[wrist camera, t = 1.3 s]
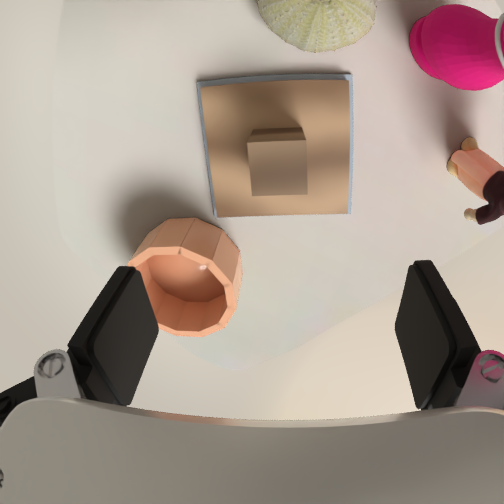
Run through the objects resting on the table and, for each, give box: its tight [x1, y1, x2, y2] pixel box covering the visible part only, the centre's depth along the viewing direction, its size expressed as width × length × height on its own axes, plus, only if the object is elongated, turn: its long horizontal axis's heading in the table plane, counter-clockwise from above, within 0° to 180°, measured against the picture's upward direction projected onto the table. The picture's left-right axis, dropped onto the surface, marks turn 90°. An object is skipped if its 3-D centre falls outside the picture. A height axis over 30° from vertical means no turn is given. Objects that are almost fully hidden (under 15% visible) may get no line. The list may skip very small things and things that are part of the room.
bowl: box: [128, 217, 243, 337], centre depth 33 cm, size 11×11×6 cm
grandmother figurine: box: [447, 137, 504, 225], centre depth 20 cm, size 8×4×13 cm, turn 159°
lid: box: [200, 80, 350, 218], centre depth 25 cm, size 12×12×6 cm
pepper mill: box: [410, 4, 504, 91], centre depth 12 cm, size 7×7×20 cm
